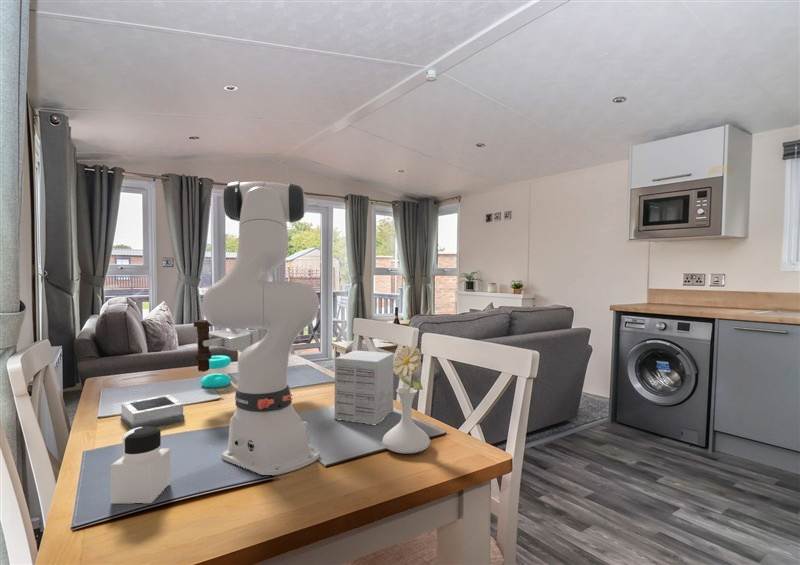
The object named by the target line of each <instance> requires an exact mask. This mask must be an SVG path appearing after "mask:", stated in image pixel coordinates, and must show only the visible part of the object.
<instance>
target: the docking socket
mask: <svg viewBox="0 0 800 565" xmlns="http://www.w3.org/2000/svg"><path fill="white" fill-rule="evenodd" d="M120 419H121V420H122V421H123V423H125V425H126V426H128V427H129V429H130V430H132V429H135V428H138V427H144V426H152V427H156V428H159V427H164V426H169V425H173V424H178V423H183V422H185V415H184V403H183V402H181V401H179V399H177V398H175V397H174V396H172V395H170V394H165V395H159V396H154V397H148V398H143V399H138V400H132V401H125V402H121V412H120Z"/></svg>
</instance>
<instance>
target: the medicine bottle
mask: <svg viewBox="0 0 800 565" xmlns="http://www.w3.org/2000/svg"><path fill="white" fill-rule="evenodd" d="M161 432H162V431H161V429H160V428H159V427H152V426H144V427H138V428H135V429H130V430H129V431H126V432H124V434H123V435H122V457H120V458H119V459H117V460H115V461H114V462H113V463H111V465H110V491H111V492H110V501H111V504H114V505H115V504H116V505H117V504H119V505H120V504H121V505H122V504H126V505H127V504H131V505H132V504H134V503H143V504H152V503H153V502H154V501H155V500H156V499H157V498H158V497H159V496H160V495H161V494H162V493H163V492H164V491H165V490H166V489H167V488H168V487H169V486H170V485H171V482H172V480H171V479H172V478H171V467H172V466H171V457H172V456H171V449H170V448H162V447H161V444H162V443H161V437H162V434H161ZM169 484H170V485H169ZM168 485H169V486H168ZM167 486H168V487H167ZM166 487H167V488H166ZM165 488H166V489H165ZM164 489H165V490H164ZM162 491H163V492H162ZM158 495H159V496H158Z"/></svg>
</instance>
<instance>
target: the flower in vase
mask: <svg viewBox="0 0 800 565" xmlns="http://www.w3.org/2000/svg"><path fill="white" fill-rule="evenodd" d="M421 360H422V352H421V351H420V349H419V348H417V347H416V345H414V344H411V345H410V346H409V345H407V344H406V345H405V347H402V348H400V351H397V352H396V356H395V355H394V363H393V366H394V369H393V372H394V373H393V374H394V375H395V376H398V378H399V379H400V380H401V381H402V382H403V383H405V384H406V385H407V386H408V387H398V388H397V389H396V390H395V391H396V393H397V394H398V396H399V399H400V403H401V418H400V421H399V422H398V423H397V424H396V425H394V426H393V427H392V428H391V429H389V430H388V431H387V432H385V434H384V435H383V437H382V441H381V442H382V444H383V446H384V447H385V449H387V450H388V451H389V450H390V451H392V452H395V453H398V454H405V455H406V454H415V453H420V452H423V451H425V450H427V449H428V447H429V446H430V445H431V439H430V437H429V435H428V434H427V433H426V432H425V431H424V430H423V429H422V428H420V427H419V426H418V425H417V424H416V423H415V422H414V421H413V419H412V408H413V407H412V406H413V401H414V398H415V396H416V394H417V393H418V392H419V390H420V391H423V389H424V388H423V386H422V385H423V384H422V382H421V381H422V380H421V379H420V378H417V379H416V378H415V377H416V376H415V372H416V371H417V370H418V369H419V366H420V365H421V363H422V361H421ZM410 376H412V381H411V383H410V380H409V379H407V378H406V377H410ZM412 386H413V387H412Z"/></svg>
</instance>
